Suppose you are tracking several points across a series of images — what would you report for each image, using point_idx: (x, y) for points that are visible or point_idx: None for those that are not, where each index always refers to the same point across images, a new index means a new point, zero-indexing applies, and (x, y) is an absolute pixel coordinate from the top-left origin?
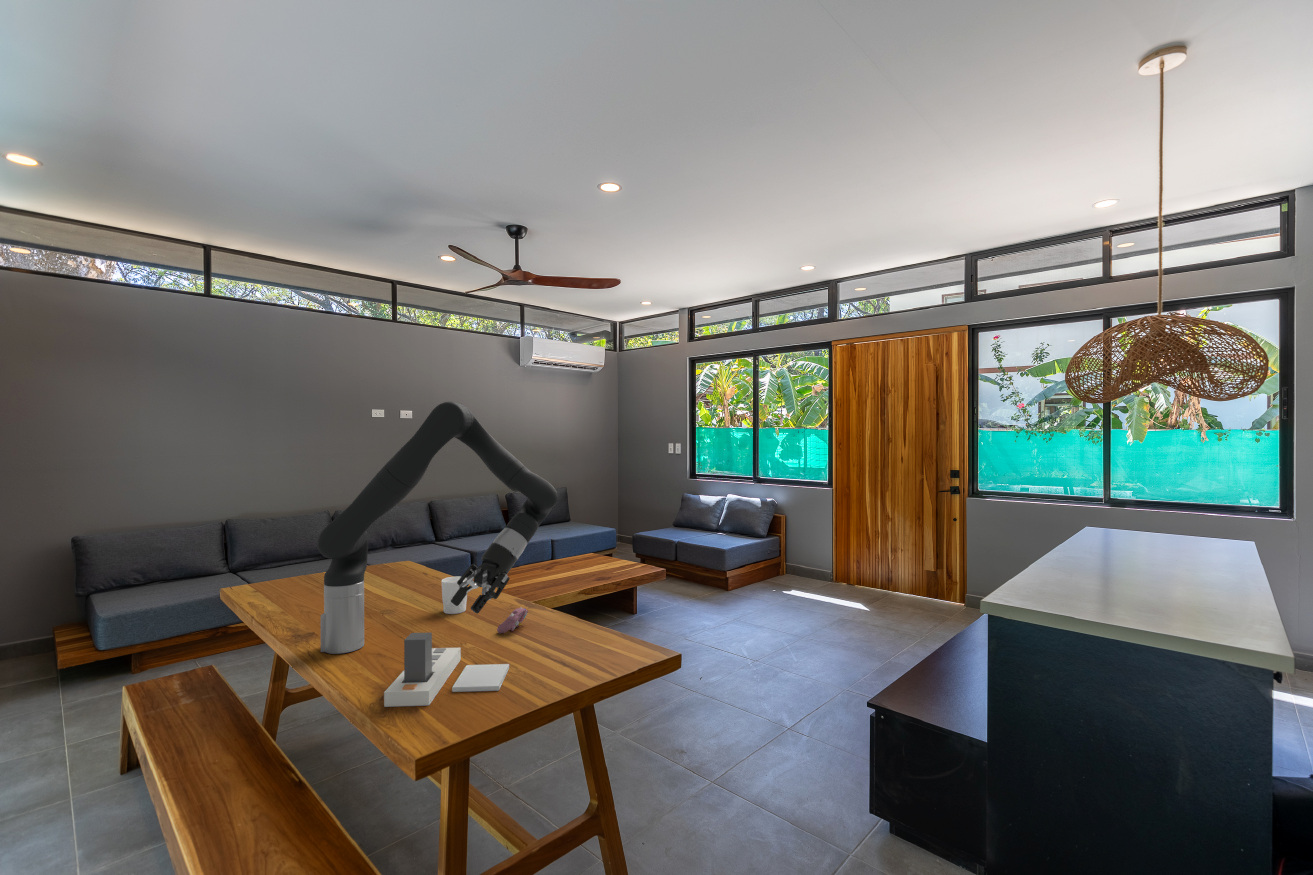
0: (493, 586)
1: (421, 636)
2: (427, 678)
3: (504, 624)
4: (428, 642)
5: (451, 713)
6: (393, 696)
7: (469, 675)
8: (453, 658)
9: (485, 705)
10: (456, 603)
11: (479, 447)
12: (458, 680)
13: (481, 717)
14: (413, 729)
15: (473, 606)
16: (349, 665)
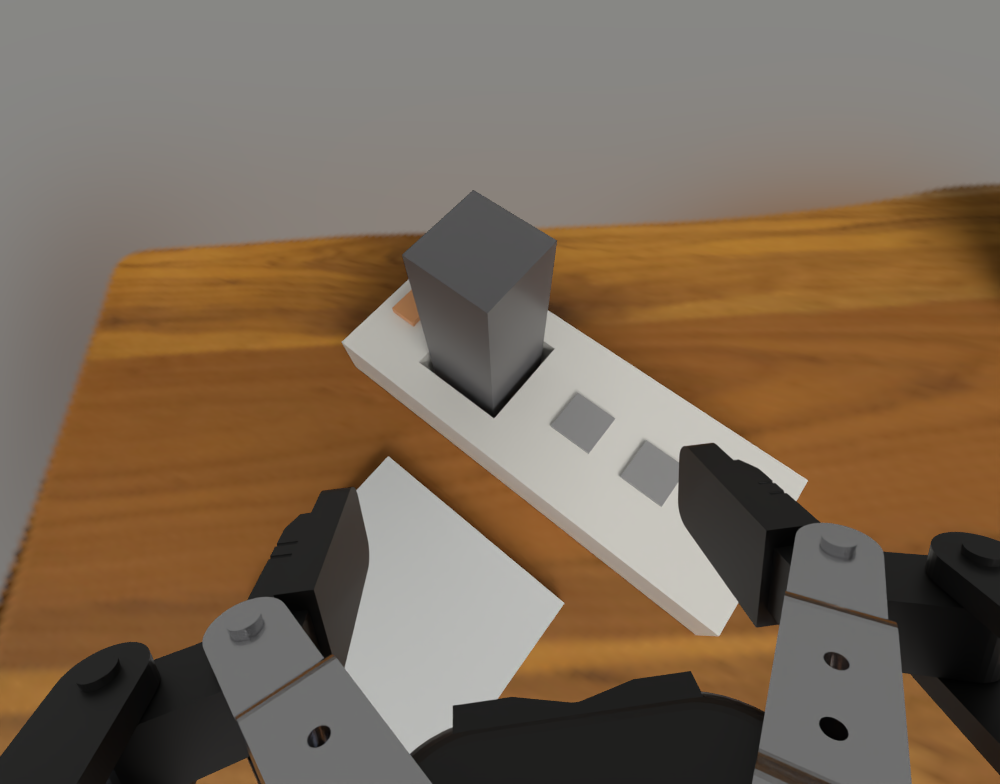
0: (19, 772)
1: (463, 257)
2: (450, 375)
3: None
4: (444, 302)
5: (246, 396)
6: None
7: (441, 558)
8: (601, 545)
9: (195, 505)
10: (685, 499)
11: None
12: (429, 500)
13: (136, 455)
14: (252, 288)
15: (320, 500)
16: (868, 280)
